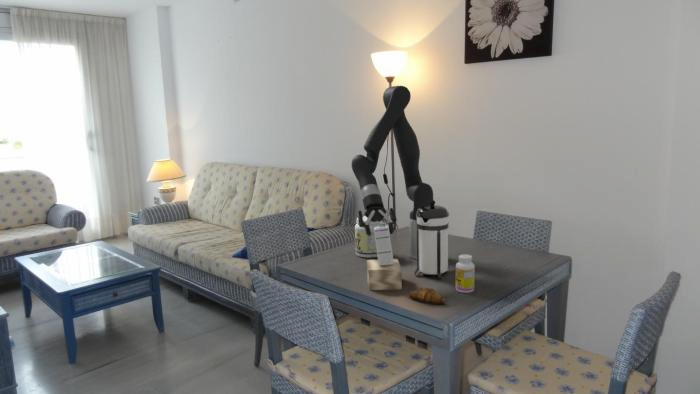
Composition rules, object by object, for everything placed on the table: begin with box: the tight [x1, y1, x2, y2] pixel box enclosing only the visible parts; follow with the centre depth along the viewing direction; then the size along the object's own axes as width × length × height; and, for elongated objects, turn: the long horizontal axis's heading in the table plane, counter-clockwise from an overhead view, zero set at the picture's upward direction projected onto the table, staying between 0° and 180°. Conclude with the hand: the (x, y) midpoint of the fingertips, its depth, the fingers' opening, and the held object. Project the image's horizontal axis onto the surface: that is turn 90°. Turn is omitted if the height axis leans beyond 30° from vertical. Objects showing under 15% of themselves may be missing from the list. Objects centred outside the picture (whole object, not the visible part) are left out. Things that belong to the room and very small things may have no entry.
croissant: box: [408, 287, 446, 305], centre depth 173 cm, size 14×7×5 cm, turn 55°
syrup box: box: [374, 223, 394, 266], centre depth 189 cm, size 6×6×14 cm
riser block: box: [366, 258, 403, 291], centre depth 191 cm, size 12×12×8 cm
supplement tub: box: [354, 215, 381, 259], centre depth 227 cm, size 12×12×17 cm
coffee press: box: [413, 199, 451, 281], centre depth 199 cm, size 17×16×30 cm
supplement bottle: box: [455, 253, 476, 294], centre depth 181 cm, size 7×7×13 cm
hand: (380, 234), depth 188 cm, fingers open, 8 cm apart
